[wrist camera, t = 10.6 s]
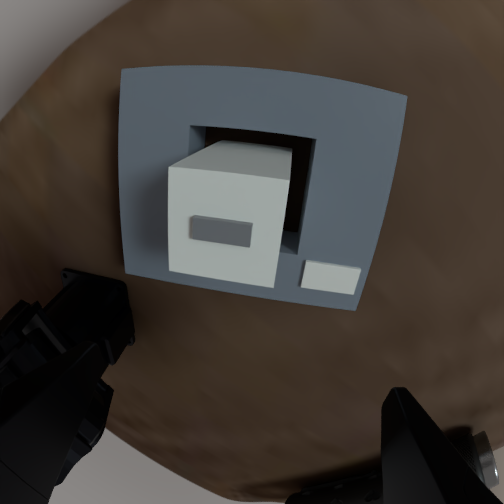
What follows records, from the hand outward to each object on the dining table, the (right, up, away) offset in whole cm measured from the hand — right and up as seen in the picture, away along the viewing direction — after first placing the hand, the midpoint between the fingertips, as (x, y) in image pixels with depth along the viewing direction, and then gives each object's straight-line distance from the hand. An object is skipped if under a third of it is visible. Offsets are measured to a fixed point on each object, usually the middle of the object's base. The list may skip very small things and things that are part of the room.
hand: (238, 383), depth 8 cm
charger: (0, +8, +9) cm, 12 cm away
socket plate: (0, +8, +9) cm, 12 cm away
